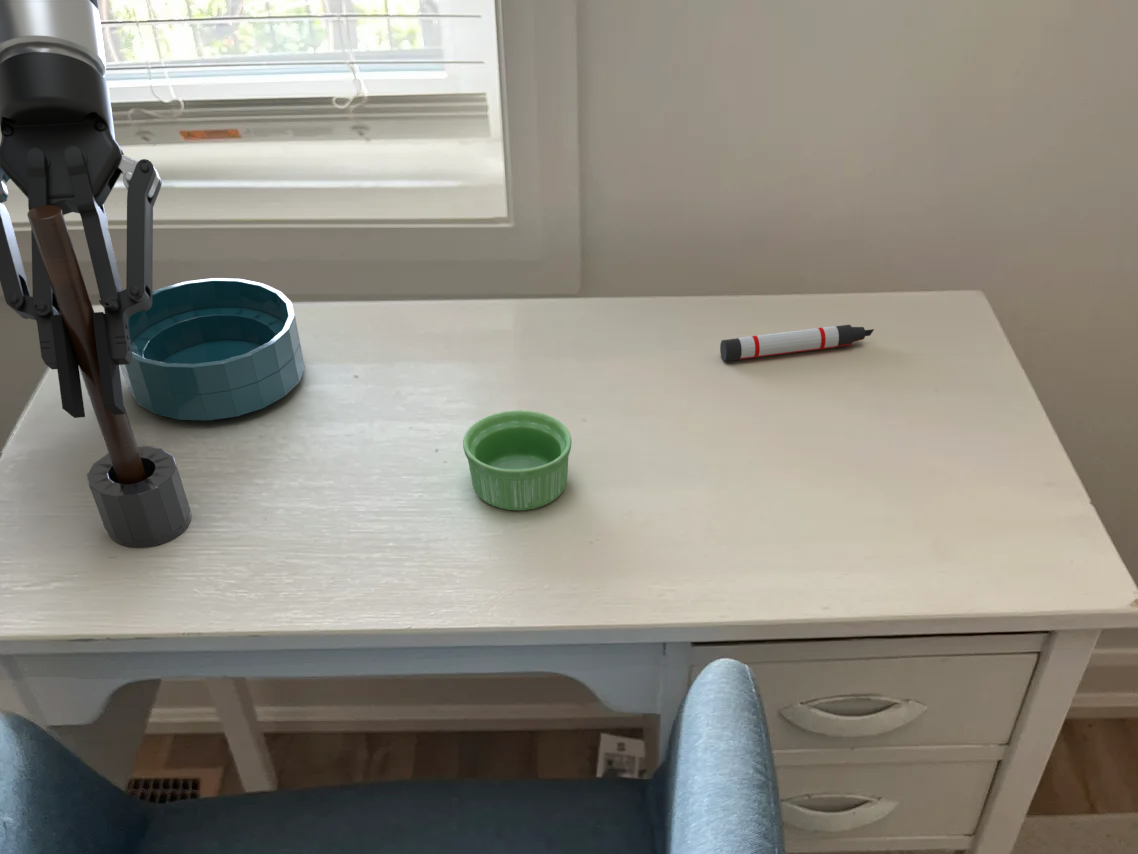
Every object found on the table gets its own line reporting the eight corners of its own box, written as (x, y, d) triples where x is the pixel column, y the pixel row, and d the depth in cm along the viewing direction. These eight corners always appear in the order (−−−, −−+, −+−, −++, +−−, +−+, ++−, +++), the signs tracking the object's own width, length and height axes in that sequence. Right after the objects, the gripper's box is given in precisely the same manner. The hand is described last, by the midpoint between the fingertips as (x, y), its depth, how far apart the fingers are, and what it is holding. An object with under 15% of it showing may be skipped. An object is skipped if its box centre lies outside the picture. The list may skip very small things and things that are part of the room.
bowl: (107, 425, 108) (86, 364, 103) (160, 334, 118) (143, 275, 114) (284, 431, 107) (271, 369, 103) (321, 339, 118) (310, 280, 113)
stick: (118, 497, 95) (21, 218, 79) (126, 481, 97) (34, 204, 80) (145, 498, 95) (54, 219, 79) (153, 482, 97) (66, 205, 80)
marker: (725, 365, 114) (727, 346, 113) (719, 355, 116) (721, 335, 114) (875, 346, 117) (878, 327, 115) (867, 336, 118) (871, 317, 116)
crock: (94, 546, 96) (74, 494, 92) (122, 495, 101) (103, 444, 97) (177, 549, 96) (161, 497, 92) (201, 498, 100) (186, 446, 97)
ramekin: (507, 443, 106) (504, 398, 102) (592, 475, 103) (592, 430, 99) (445, 493, 101) (440, 448, 98) (533, 529, 98) (531, 483, 94)
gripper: (173, 96, 89) (212, 415, 91) (-39, 107, 88) (4, 431, 89) (147, 40, 82) (190, 389, 83) (-85, 51, 80) (-37, 406, 82)
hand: (94, 410), depth 86 cm, fingers closed on stick, 2 cm apart
